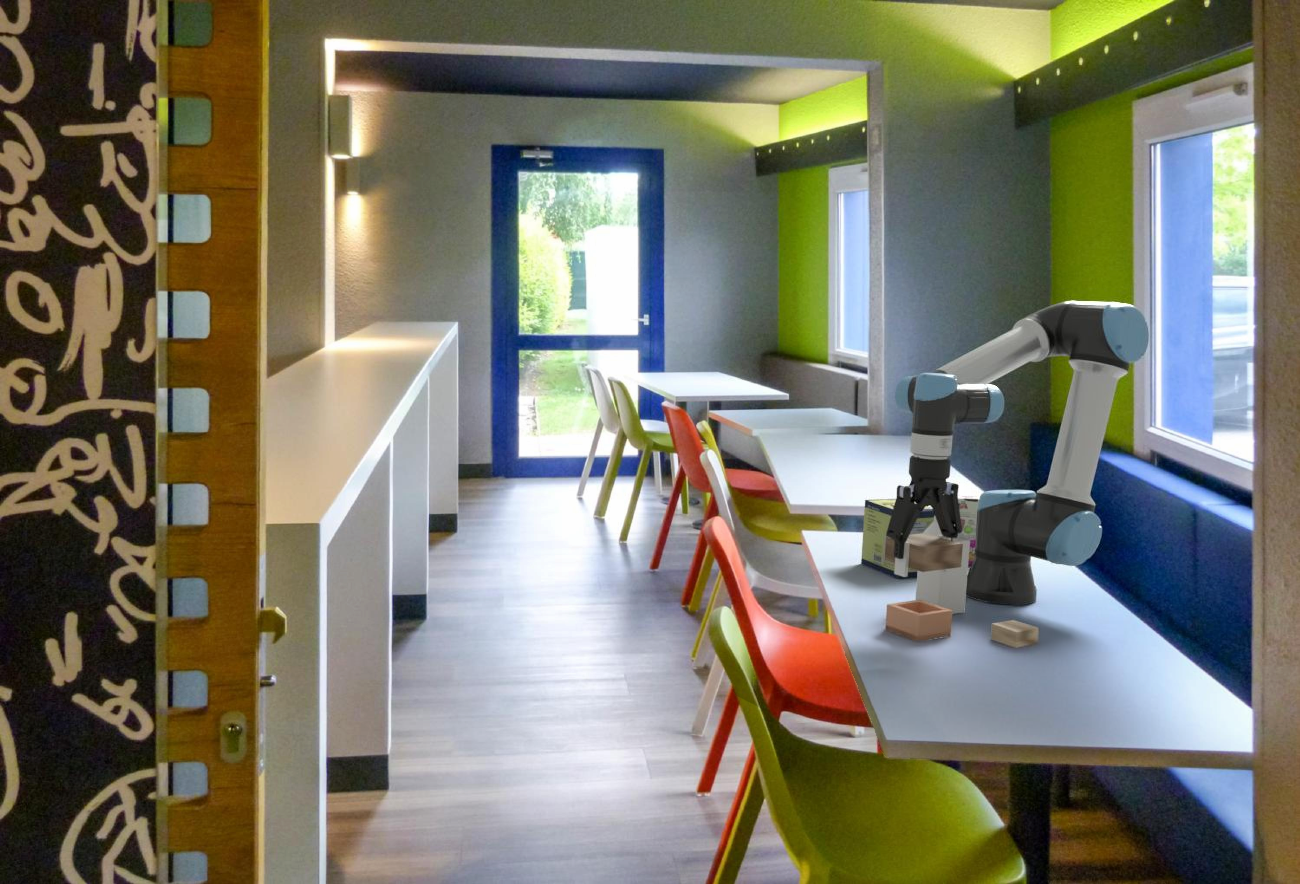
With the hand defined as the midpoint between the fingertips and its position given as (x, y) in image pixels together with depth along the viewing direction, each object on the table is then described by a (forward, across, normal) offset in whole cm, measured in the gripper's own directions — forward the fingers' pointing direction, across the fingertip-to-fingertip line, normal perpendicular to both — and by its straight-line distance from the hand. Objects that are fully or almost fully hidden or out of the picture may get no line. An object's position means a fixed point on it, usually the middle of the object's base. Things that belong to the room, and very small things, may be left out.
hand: (921, 572), depth 232 cm
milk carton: (+12, +16, +10) cm, 22 cm away
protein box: (+12, +33, +40) cm, 53 cm away
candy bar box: (+12, +51, +39) cm, 65 cm away
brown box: (-2, 0, 0) cm, 2 cm away
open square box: (+12, 0, 0) cm, 12 cm away
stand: (+12, +13, -12) cm, 21 cm away
